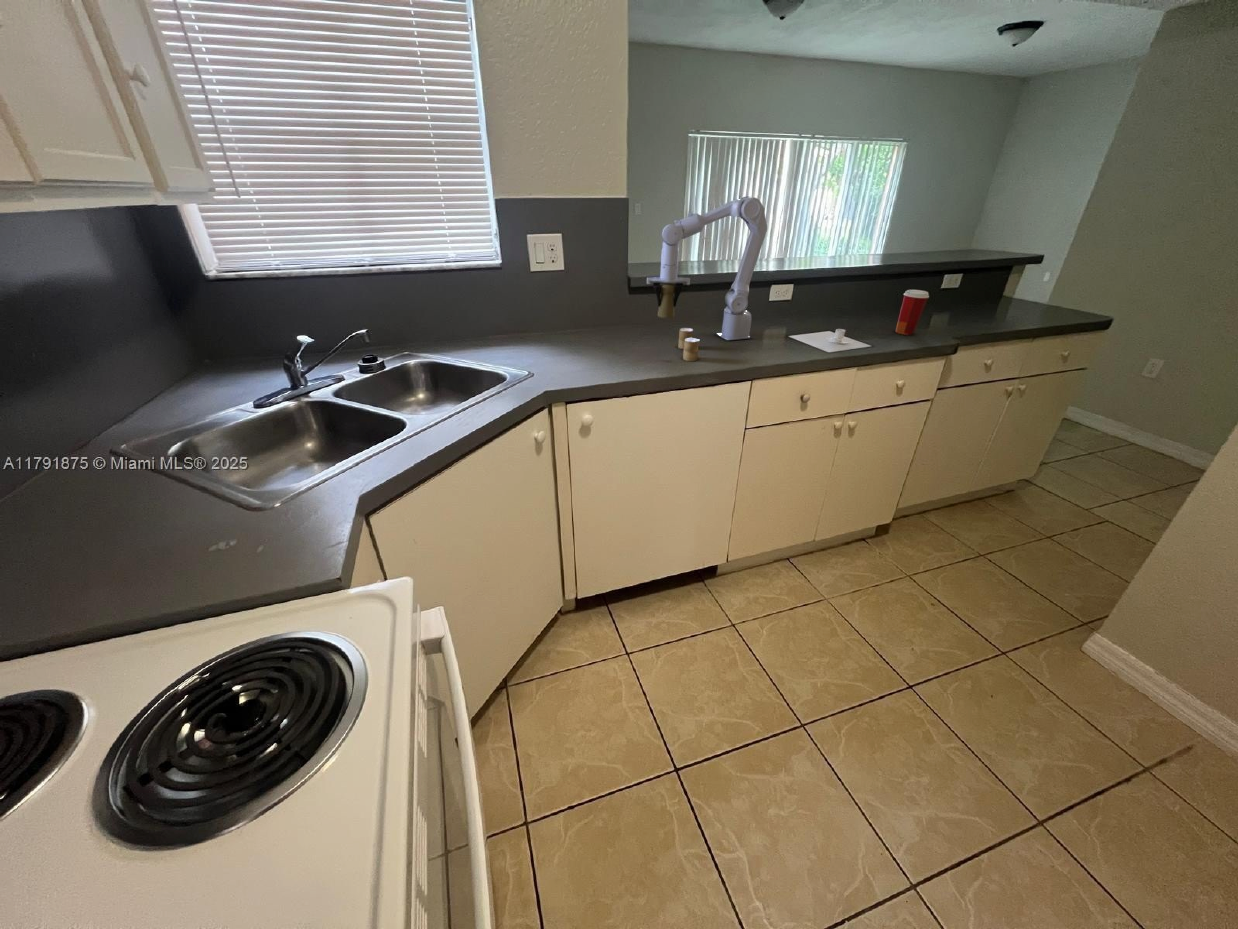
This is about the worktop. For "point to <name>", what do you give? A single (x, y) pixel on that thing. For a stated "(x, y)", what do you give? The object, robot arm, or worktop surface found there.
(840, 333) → the teacup and saucer
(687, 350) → the post
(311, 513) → the worktop surface
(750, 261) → the robot arm
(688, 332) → the post
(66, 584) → the worktop surface
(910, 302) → the coffee cup
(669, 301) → the cork
